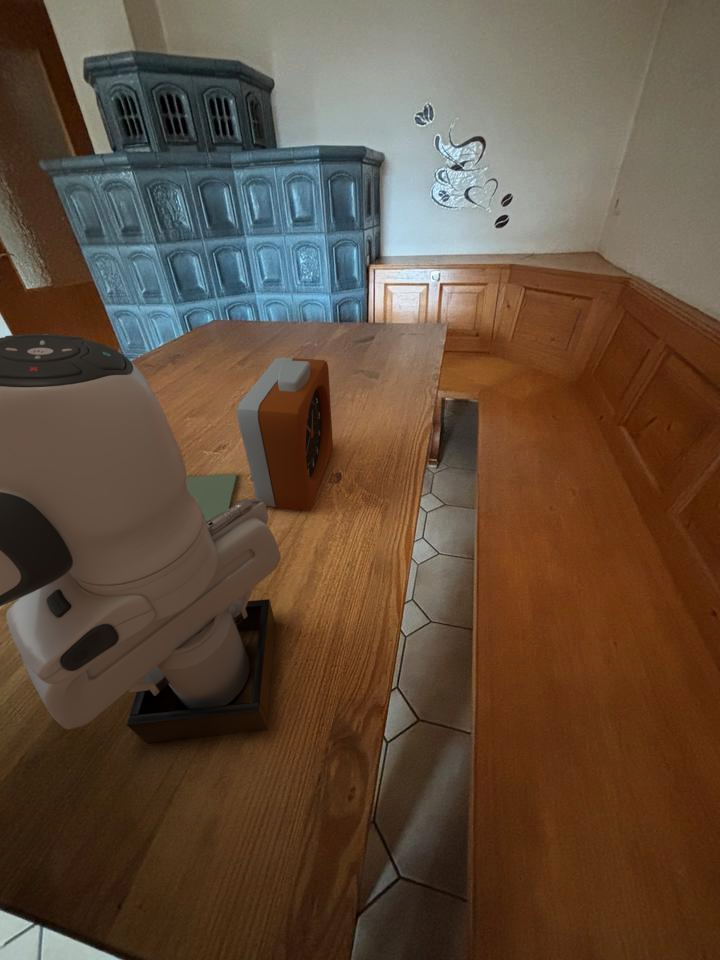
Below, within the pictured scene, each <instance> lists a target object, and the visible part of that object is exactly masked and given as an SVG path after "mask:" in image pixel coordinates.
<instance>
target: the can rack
mask: <svg viewBox="0 0 720 960" xmlns="http://www.w3.org/2000/svg"><path fill="white" fill-rule="evenodd" d="M245 609H246V612H247V615H248V616H247V617H246V618H245V619H244V620H242V621H241V622H240V623H239V624H238V625H236V627H237V630H238V632H247V631H257V630H258V636H257V645H256V654H255V664H254V671H253V682H252V691H251V699H250V702H244V703H236V704H235V703H234V704H226V705H225V706H216V707H206V708H197V709H189V708H187V709H179V710H170V711H164V709H165V706H166V702H167V698H168V694H169V691H170V688H171V687H170V686H169V684H168V685H167V686H166V687H165V688H164V689H162V690H161V691H160V692H159V693H158V694H157V695H156V696H154V695H153V693H152V692H151V691H150V690H147V691H139V692H135V693H136V694H135V697H134V699H133V703H132V705H131V708H130V709H131V710H130V711H129V716H128V718H127V722H126V726H127V727H128V728H129V729H130V730H131V731H132V732H134V734H135V735H137V736H138V737H139V738H140V739H141V740H142V741H143V742H145V743H146V744H153V743H162V742H170V741H180V740H189V739H197V738H205V737H207V738H208V737H214V736H215V737H216V736H224V735H233V734H241V733H242V734H243V733H250V732H259V731H260V732H261V731H267V730H268V729H269V715H270V703H271V702H270V701H271V690H272V675H273V664H274V650H275V636H276V625H277V624H276V619H275V615H274V612H273V607H272V604H271V600H270V598H267V599H266V598H265V599H257V600H256V599H255V600H249V601H248V603H247V606H246V608H245Z"/></svg>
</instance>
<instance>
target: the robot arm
mask: <svg viewBox="0 0 720 960" xmlns="http://www.w3.org/2000/svg"><path fill="white" fill-rule="evenodd" d="M185 463H186V462H185V460H184V457H183V455H182V452H181V449H180V446H179V444H178V441H177V439H176V437H175V434H174V432H173V429H172V426H171V425H170V422H169V420H168V418H167V416H166V414H165V411H164V410H163V407H162V405H161V403H160V401H159V399H158V398H157V395H156V393H155V392H154V390H153V388H152V387H151V385H150V384H149V382H148V380H147V379H146V377H145V376H144V375H143V373H142V372H141V371H140V369H139V368H138V367H137V366H136V365H135V364H134V363H133V361H131V360H130V359H129V358H128V357H127V356H126V355H124V354H122V353H121V352H119V351H117V350H116V349H115V348H112V347H109V346H107V345H106V344H103V343H100V342H98V341H97V342H96V341H93V340H89V339H84V338H83V337H80V336H73V335H67V334H66V335H65V334H51V333H24V334H23V333H22V334H12V335H10V334H9V335H5V336H3V337H0V607H2V606H5V605H7V604H9V603H12V602H14V601H15V602H14V603H13V604H12V605H11V606H10V607H9V608H8V610H7V611H6V612H5V619H6V623H7V628H8V630H9V634H10V637H11V639H12V641H13V644H14V646H15V648H16V650H17V651H18V654H19V655H20V656H21V661H22V664H23V667H24V668H25V670H26V673H27V674H28V677H29V678H30V680H31V683H32V685H33V686H34V688H35V690H36V692H37V693H38V695H39V697H40V699H41V701H42V703H43V704H44V706H45V708H46V710H47V711H48V713H49V714H50V715H51V717H52V718H53V720H55V722H56V723H58V725H60V726H61V727H62V728H63V729H65V730H72V729H73V730H74V729H77V728H81V727H84V726H86V725H88V724H89V723H91V722H92V721H93V720H94V719H95V718H97V717H98V716H99V715H100V714H101V713H102V712H104V711H105V710H106V709H107V708H108V707H110V706H111V705H112V704H114V703H115V702H116V701H117V700H119V699H120V698H121V697H122V696H124V695H125V693H127V692H129V694H130V693H132V694H133V693H137V692H139V691H147V690H150V691H151V692H152V693H153V695H154V696H156V695H157V694H158V693H159V692H160V691H161V690H162V689H164V688H165V687H166V686H167V685H168V684H169V683H170V682H169V681H168V680H167V678H166V677H165V676H164V675H163V674H162V673H161V672H160V671H159V670H158V669H157V668H156V667H157V666H158V665H160V664H161V663H162V662H163V661H165V660H166V659H167V658H168V657H169V656H171V655H172V654H171V653H172V651H174V650H175V649H179V648H180V647H182V646H183V645H184V644H185V643H187V642H188V641H189V640H190V639H191V638H193V637H194V636H195V635H196V634H197V633H199V632H200V631H201V630H202V629H204V628H205V627H206V626H207V625H208V624H210V623H211V622H212V621H213V620H214V619H215V617H216V616H217V615H218V614H219V613H221V614H222V613H223V612H224V611H226V610H227V609H228V608H229V610H230V612H231V615H232V617H233V620H234V622H235V625H238V624H239V623H240V622H241V621H242V620H244V619H245V618H246V617H247V616H248V615H247V612H246V609H245V608H246V606H247V603H248V601H250V598H251V595H252V593H253V592H252V590H253V589H254V588H255V587H256V586H258V584H260V583H261V582H262V581H263V580H265V579H266V578H267V577H268V576H270V575H271V574H272V573H273V572H275V571H276V569H278V566H279V564H280V560H281V559H282V558H281V556H282V555H281V552H280V548H279V546H278V543H277V541H276V538H275V536H274V534H273V532H272V530H271V528H270V527H269V526H268V523H269V513H268V508H267V506H266V505H265V503H264V502H263V501H262V500H261V499H257V497H256V498H250V499H249V498H247V497H245V498H242V499H240V500H239V501H237V502H235V503H234V504H233V506H230V509H228V510H226V511H224V512H222V513H220V514H218V515H216V516H215V517H213V518H212V519H210V520H208V521H207V522H206V521H205V518H204V515H203V513H202V509H201V507H200V505H199V503H198V501H197V500H196V498H195V497H194V496H193V495H192V494H191V493H190V492H189V490H188V488H187V485H186V477H187V468H186V464H185Z"/></svg>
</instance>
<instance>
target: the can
mask: <svg viewBox="0 0 720 960" xmlns="http://www.w3.org/2000/svg"><path fill="white" fill-rule="evenodd" d="M171 654H172V655H171V656H169V657H168V658H167V659H166V660H165V661H163V662H162V663H161V664H160V665H158V666H157V667H156V668H157V669H158V670H159V671H160V672H161V673H162V674H163V675H164V676H165V677H166V678H167V680H168V681H169V682H170V683H169V686H170V687H169V688H170V689H171V690H172V691H173V693H174V694H175V695H176V696H177V698H178V699H179V701H180V702H181V703H182V704H183V705H184V706H185V707H186V708H187V709H197V708H206V707H216V706H225V705H229V704H230V703H231V702H232V701H234V699H235V698H236V697H237V696H238V695H239V694H240V693H241V692H242V690H243V688H244V686H245V685H246V683H247V681H248V677H249V673H250V669H251V668H250V659H249V655H248V653H247V651H246V648H245V645H244V643H243V641H242V637H241V635H240V631H238V630H237V627H236V625H235V622H234V620H233V617H232V615H231V612H230V610H229V608H228V609H227V610H226V611H224V612H223V613H222V614H221V613H219V614H218V615H217V616H216V617H215V619H214V620H213V621H212V622H211V623H210V624H208V625H207V626H206V627H205V628H204V629H202V630H201V631H200V632H199V633H197V634H196V635H195V636H194V637H193V638H191V639H190V640H189V641H188V642H187V643H185V644H184V645H183V646H182V647H180V648H179V649H175V650H174V651H172V653H171Z"/></svg>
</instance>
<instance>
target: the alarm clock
mask: <svg viewBox="0 0 720 960" xmlns="http://www.w3.org/2000/svg"><path fill="white" fill-rule="evenodd" d="M329 372H330V371H329V364H328V361H327V360H325V359H314V358H299V357H282V356H279V357H276V358H275V359H274V361H273V362H272V363H271V364H270V366H269V367H268V368H266V370H265V371H264V373H263V374H262V375H261V376H260V377H259V379H258V380H257V381H256V382H255V383H254V384H253V386H251V388H250V389H249V391H248V392H247V393H246V394H245V395H244V397H243V398H242V399H241V401H240V402H239V403H238V406H237V408H236V417H237V422H238V425H239V430H240V434H241V439H242V442H243V445H244V446H243V447H244V451H245V455H246V459H247V463H248V469H249V472H250V475H251V479H252V484H253V489H254V492H255V496H256V498H257V499H261V500H262V501H263V502H264V503H265V505H266V507H276V508H277V507H278V508H283V509H292V510H293V509H294V510H303V511H307V510H310V508H311V507H312V505H313V503H314V500H315V497H316V494H317V492H318V489H319V486H320V484H321V481H322V478H323V475H324V473H325V470H326V469H327V468H326V467H327V465H328V462H329V460H330V457H331V454H332V451H333V447H334V440H333V424H332V408H331V407H332V406H331V390H330V373H329Z"/></svg>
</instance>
